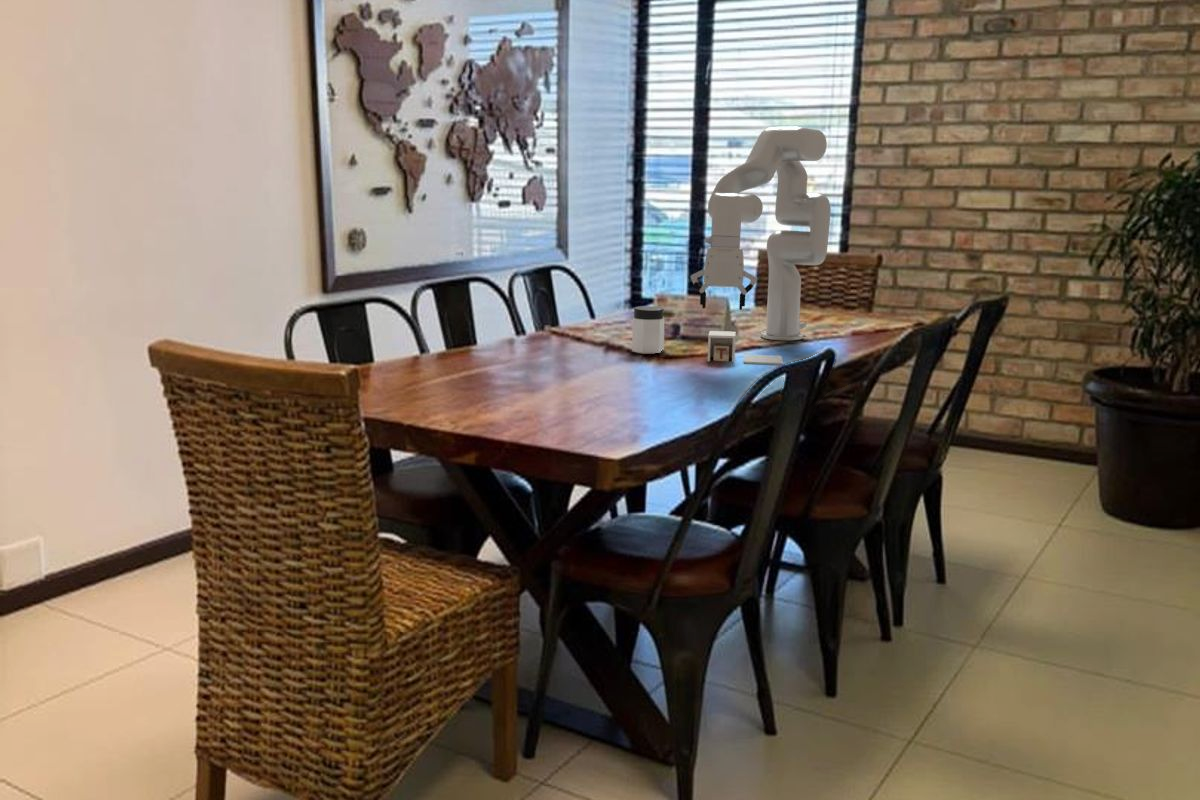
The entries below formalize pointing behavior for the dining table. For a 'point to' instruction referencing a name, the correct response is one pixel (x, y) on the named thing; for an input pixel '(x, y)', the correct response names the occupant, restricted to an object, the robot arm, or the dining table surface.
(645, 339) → the jar
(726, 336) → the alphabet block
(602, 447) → the dining table surface
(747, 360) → the mat
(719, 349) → the letter cube
